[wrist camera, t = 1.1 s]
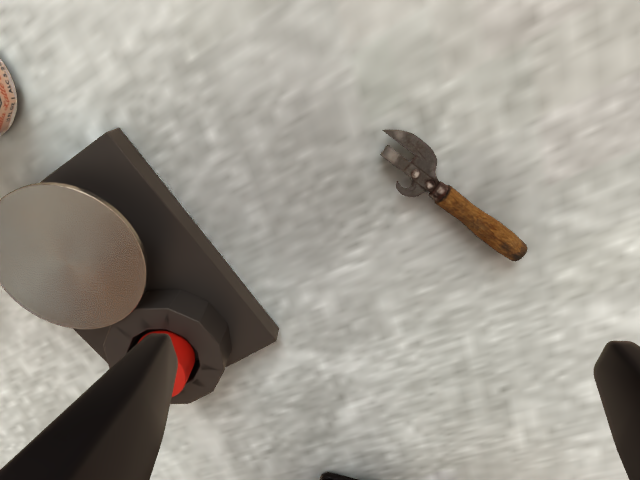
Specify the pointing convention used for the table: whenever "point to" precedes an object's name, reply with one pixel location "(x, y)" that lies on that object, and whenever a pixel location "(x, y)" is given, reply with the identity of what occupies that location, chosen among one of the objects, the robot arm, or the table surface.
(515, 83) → the table surface
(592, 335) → the table surface
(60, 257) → the warming plate
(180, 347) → the button
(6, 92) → the beer can
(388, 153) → the can opener
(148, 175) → the warmer
